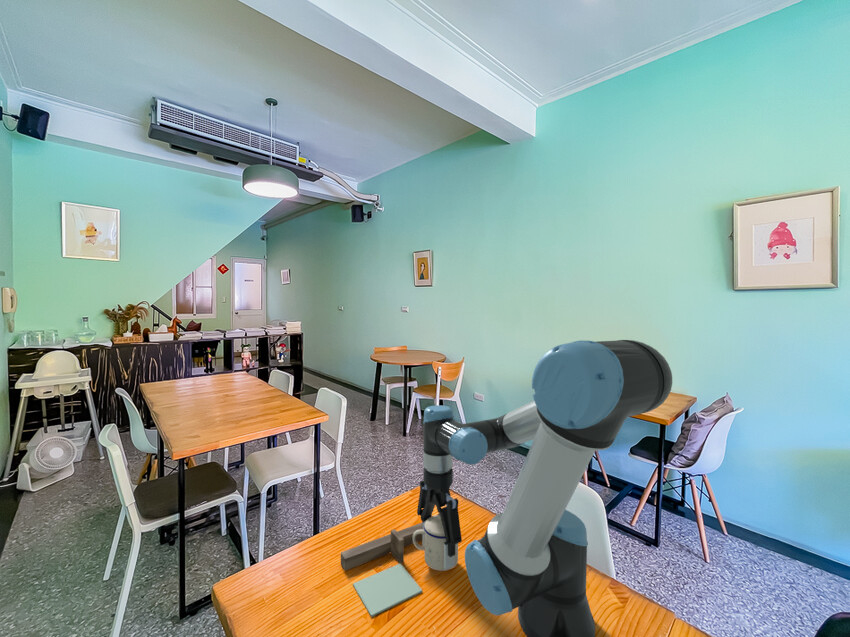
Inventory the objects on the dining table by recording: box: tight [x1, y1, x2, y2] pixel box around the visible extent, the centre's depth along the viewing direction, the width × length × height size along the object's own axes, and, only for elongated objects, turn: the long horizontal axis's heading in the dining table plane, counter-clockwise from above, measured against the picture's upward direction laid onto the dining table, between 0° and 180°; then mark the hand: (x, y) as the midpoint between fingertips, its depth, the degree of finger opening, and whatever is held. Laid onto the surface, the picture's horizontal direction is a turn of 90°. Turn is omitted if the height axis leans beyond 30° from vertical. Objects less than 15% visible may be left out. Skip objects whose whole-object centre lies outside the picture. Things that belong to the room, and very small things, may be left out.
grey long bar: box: [340, 522, 422, 572], centre depth 95 cm, size 8×27×6 cm, turn 123°
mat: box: [352, 563, 423, 618], centre depth 83 cm, size 10×13×1 cm
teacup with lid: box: [413, 513, 459, 572], centre depth 91 cm, size 12×9×12 cm
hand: (437, 556), depth 90 cm, fingers closed on teacup with lid, 9 cm apart
